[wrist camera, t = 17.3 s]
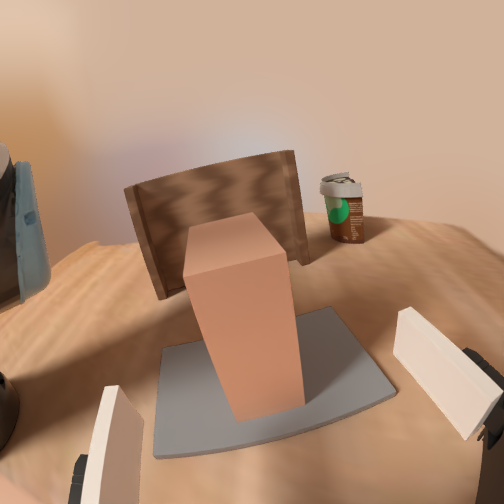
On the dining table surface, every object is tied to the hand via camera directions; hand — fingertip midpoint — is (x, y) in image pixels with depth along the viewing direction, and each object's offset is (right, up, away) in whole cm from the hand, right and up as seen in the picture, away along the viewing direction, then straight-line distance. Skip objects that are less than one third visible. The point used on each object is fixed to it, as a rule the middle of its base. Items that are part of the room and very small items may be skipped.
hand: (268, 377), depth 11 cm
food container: (+15, +8, +37) cm, 40 cm away
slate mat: (0, -5, +11) cm, 12 cm away
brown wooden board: (-3, +2, +29) cm, 30 cm away
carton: (0, -5, +10) cm, 11 cm away
